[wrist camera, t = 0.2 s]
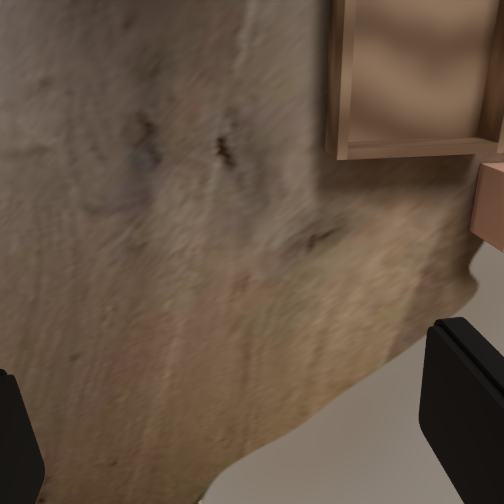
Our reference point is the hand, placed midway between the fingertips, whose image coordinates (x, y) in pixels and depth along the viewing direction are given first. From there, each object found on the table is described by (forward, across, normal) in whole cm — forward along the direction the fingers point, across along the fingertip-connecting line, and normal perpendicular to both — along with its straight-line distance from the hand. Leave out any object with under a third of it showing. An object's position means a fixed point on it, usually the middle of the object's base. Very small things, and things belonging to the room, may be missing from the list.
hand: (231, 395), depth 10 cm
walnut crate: (+31, -17, -8) cm, 36 cm away
